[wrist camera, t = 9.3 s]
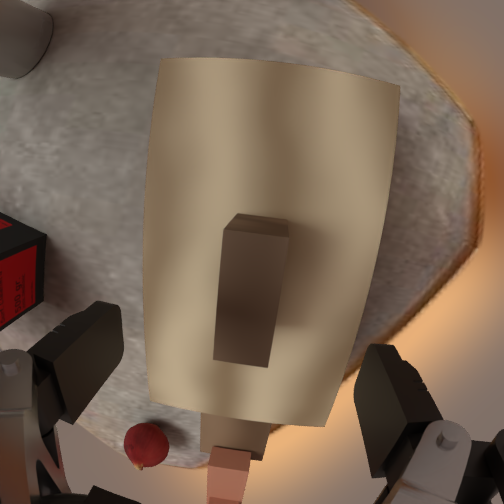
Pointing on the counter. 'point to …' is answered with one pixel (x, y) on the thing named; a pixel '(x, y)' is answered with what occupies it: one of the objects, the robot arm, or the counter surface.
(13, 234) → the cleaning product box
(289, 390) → the lid
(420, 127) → the counter surface
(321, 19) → the counter surface
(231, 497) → the l-shaped block
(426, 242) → the counter surface
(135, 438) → the onion
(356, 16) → the counter surface
